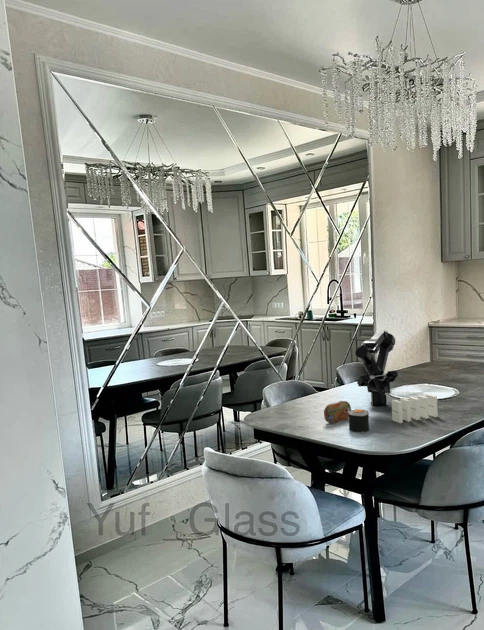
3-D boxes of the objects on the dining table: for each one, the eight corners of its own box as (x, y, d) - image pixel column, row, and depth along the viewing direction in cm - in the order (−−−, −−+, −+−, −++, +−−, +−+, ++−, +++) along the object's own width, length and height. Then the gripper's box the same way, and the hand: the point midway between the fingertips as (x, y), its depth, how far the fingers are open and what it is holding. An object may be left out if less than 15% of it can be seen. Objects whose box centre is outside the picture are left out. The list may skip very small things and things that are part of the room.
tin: (328, 425, 207) (327, 406, 207) (323, 424, 210) (322, 405, 209) (352, 418, 216) (351, 399, 215) (346, 417, 219) (345, 398, 218)
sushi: (350, 426, 205) (349, 407, 204) (370, 427, 202) (369, 408, 201) (347, 431, 197) (346, 412, 197) (368, 432, 194) (367, 413, 194)
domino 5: (434, 417, 210) (433, 396, 209) (426, 414, 214) (426, 394, 214) (437, 416, 210) (436, 396, 210) (429, 414, 215) (429, 394, 214)
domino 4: (425, 418, 208) (425, 398, 208) (418, 415, 213) (417, 395, 212) (428, 418, 209) (428, 397, 208) (421, 415, 214) (420, 395, 213)
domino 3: (416, 420, 207) (416, 399, 206) (409, 417, 212) (408, 397, 211) (420, 419, 207) (419, 399, 207) (412, 416, 212) (411, 396, 212)
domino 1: (399, 423, 204) (398, 402, 203) (392, 420, 209) (391, 399, 208) (402, 422, 205) (401, 401, 204) (395, 419, 209) (394, 399, 209)
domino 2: (408, 421, 206) (407, 400, 205) (400, 418, 210) (400, 398, 210) (411, 421, 206) (410, 400, 206) (404, 418, 211) (403, 397, 210)
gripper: (381, 373, 232) (396, 401, 222) (347, 378, 226) (361, 406, 216) (390, 359, 224) (406, 387, 214) (355, 363, 218) (370, 392, 208)
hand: (385, 393), depth 213 cm, fingers open, 3 cm apart
